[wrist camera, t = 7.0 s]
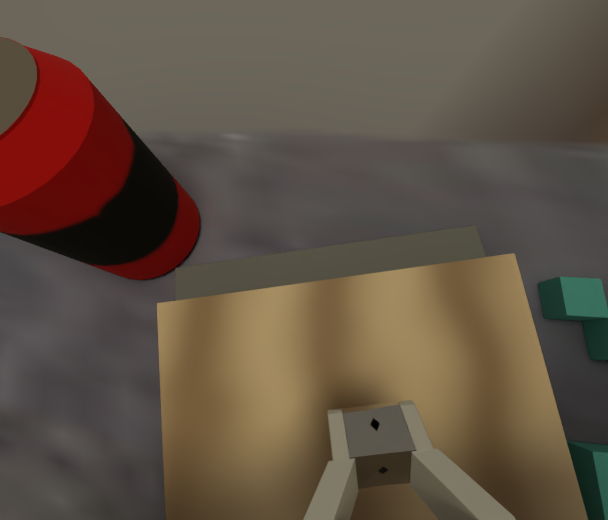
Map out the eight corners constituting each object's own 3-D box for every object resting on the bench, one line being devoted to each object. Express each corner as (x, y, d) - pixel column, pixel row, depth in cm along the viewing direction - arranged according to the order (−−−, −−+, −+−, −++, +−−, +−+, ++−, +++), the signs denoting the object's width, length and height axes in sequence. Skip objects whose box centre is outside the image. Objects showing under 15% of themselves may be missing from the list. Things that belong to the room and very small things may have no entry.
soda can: (93, 208, 22) (-146, 60, 11) (186, 172, 23) (49, -7, 11) (112, 298, 20) (-165, 229, 9) (214, 256, 21) (80, 137, 9)
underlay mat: (468, 231, 20) (475, 225, 19) (632, 734, 13) (657, 766, 12) (182, 271, 20) (175, 268, 19) (182, 780, 13) (171, 814, 12)
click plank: (486, 261, 17) (514, 253, 14) (549, 503, 14) (594, 540, 12) (179, 304, 17) (156, 303, 15) (192, 546, 15) (168, 591, 12)
